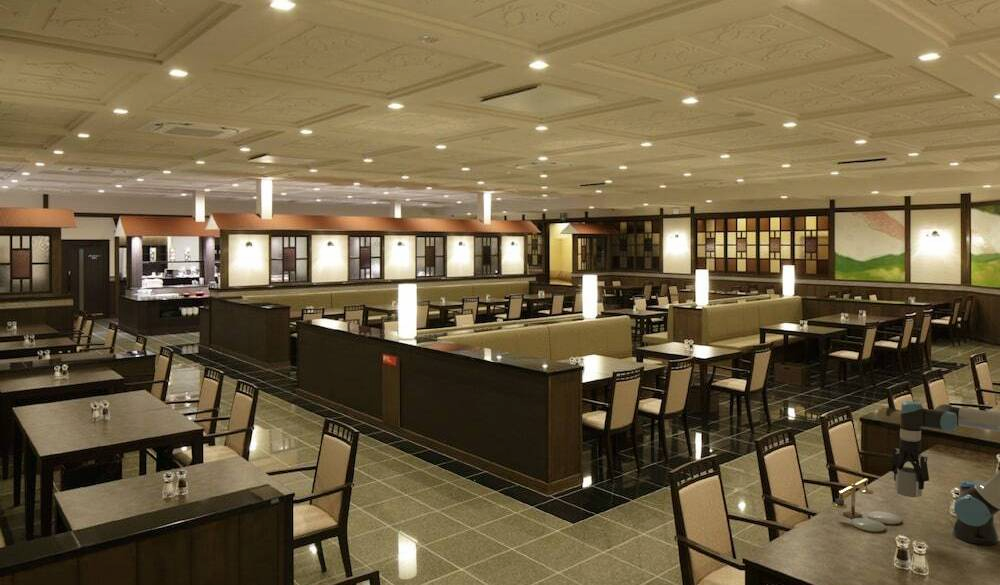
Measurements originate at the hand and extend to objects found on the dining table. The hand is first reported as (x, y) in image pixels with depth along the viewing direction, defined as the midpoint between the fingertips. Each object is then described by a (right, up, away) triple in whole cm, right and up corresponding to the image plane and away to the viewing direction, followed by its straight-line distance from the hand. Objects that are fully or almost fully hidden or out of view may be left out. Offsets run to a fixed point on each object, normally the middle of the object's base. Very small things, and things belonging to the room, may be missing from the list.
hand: (908, 492), depth 284 cm
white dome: (-1, -16, +16) cm, 23 cm away
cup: (0, -1, 0) cm, 1 cm away
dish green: (-13, -17, +8) cm, 22 cm away
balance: (-13, -16, +19) cm, 28 cm away
